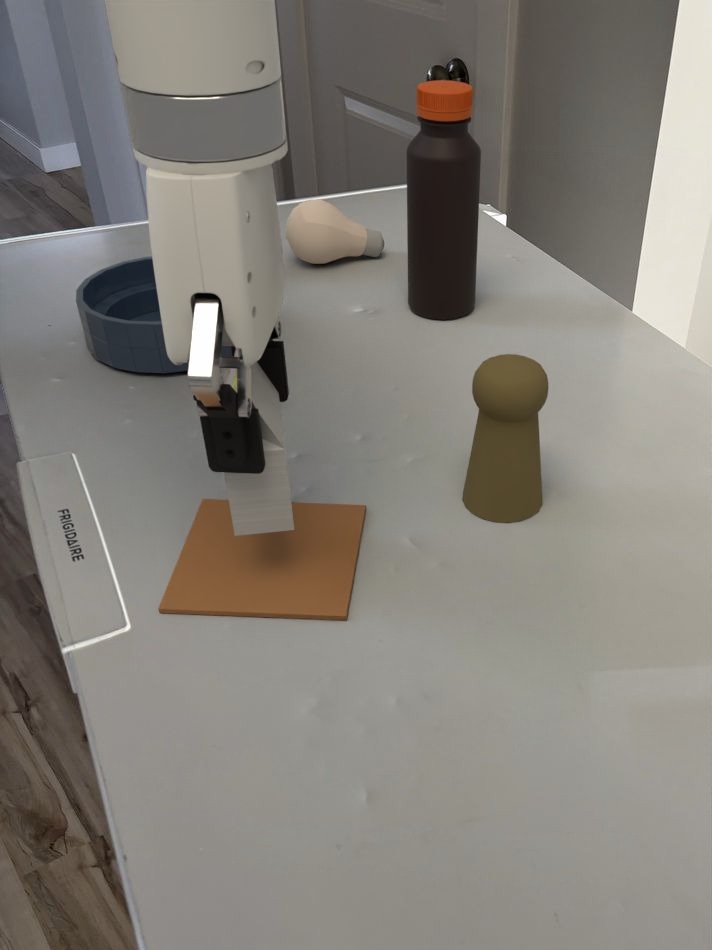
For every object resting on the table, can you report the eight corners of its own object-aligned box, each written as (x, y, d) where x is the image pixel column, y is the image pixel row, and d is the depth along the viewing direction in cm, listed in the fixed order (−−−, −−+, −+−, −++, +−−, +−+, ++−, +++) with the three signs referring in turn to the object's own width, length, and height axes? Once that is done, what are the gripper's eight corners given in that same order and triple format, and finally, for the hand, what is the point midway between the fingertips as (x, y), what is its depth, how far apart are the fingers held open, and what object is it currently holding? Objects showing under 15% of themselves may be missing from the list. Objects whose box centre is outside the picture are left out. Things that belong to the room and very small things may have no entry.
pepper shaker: (458, 476, 71) (462, 343, 64) (536, 474, 72) (549, 342, 64) (466, 524, 67) (471, 387, 60) (549, 521, 67) (564, 384, 60)
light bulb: (386, 202, 103) (289, 180, 98) (398, 235, 99) (297, 214, 94) (370, 255, 107) (276, 236, 103) (380, 288, 103) (283, 271, 99)
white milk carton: (287, 470, 63) (271, 332, 57) (294, 529, 58) (278, 387, 52) (232, 475, 63) (210, 336, 56) (234, 535, 58) (210, 391, 51)
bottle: (487, 303, 95) (498, 85, 82) (451, 327, 91) (457, 101, 77) (431, 287, 98) (433, 73, 84) (394, 310, 93) (390, 88, 80)
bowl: (65, 374, 82) (50, 320, 79) (117, 301, 93) (106, 252, 90) (236, 380, 82) (228, 327, 79) (268, 306, 93) (262, 257, 90)
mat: (159, 613, 59) (158, 608, 59) (203, 503, 68) (202, 498, 68) (346, 620, 59) (346, 616, 59) (366, 509, 68) (366, 504, 68)
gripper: (177, 74, 52) (222, 363, 64) (70, 174, 39) (152, 515, 51) (310, 78, 52) (331, 367, 63) (248, 180, 39) (289, 520, 50)
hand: (251, 431), depth 57 cm, fingers closed on white milk carton, 7 cm apart
